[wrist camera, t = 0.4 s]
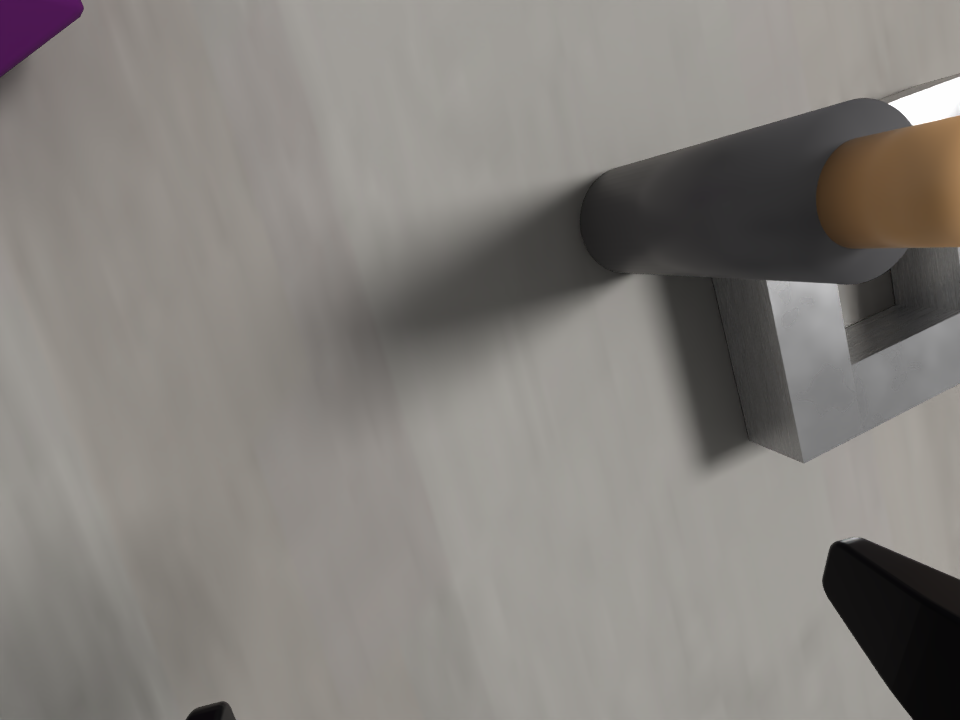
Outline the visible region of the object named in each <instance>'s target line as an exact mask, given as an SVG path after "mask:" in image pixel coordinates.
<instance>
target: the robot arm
mask: <svg viewBox="0 0 960 720" xmlns="http://www.w3.org/2000/svg"><path fill="white" fill-rule="evenodd" d="M822 583H823V588H824V591H825V593H826V595H827V597H828V599H829V600H830V602H831V603H832V605H833V606H834V608H835V609H836V611H837V612H838V614H839V615H840V617H841V618H842V620H843V621H844V623H845V624H846V626H847V627H848V629H849V630H850V632H851V633H852V635H853V636H854V638H855V639H856V641H857V642H858V644H859V645H860V647H861V648H862V650H863V651H864V652H865V654H866V655H867V657H868V658H869V660H870V661H871V663H872V664H873V666H874V667H875V669H876V670H877V672H878V673H879V675H880V676H881V678H882V679H883V681H884V682H885V683H886V685H887V686H888V688H889V689H890V691H891V692H892V693H893V694H894V696H895V697H896V698H897V700H898V701H899V702H900V704H901V705H902V706H903V708H904V709H905V710H906V711H907V713H908V714H909V715H910V716H911V718H912V719H913V720H960V580H959V579H957V578H955V577H952V576H950V575H948V574H945V573H943V572H941V571H938V570H936V569H934V568H931V567H929V566H927V565H924V564H922V563H920V562H917V561H915V560H913V559H910V558H908V557H906V556H903V555H901V554H899V553H896V552H894V551H892V550H889V549H887V548H885V547H882V546H880V545H878V544H875V543H873V542H871V541H868V540H866V539H863V538H860V537H852V538H848V539H844V540H840V541H837V542H834V543H833V544H832V545H831V546H830V549H829V553H828V557H827V561H826V565H825V570H824V574H823V578H822ZM186 720H236V719H235V717H234V714H233V712H232V709H231V707H230V706H229V704H228V703H227V702H224V701H222V702H217V703H213V704H210V705H206V706H202V707H199V708H196V709H195V710H193V711H192V712H191V713H190V714H189V715H188V717H187V718H186Z"/></svg>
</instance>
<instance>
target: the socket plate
mask: <svg viewBox="0 0 960 720" xmlns="http://www.w3.org/2000/svg"><path fill="white" fill-rule="evenodd" d="M879 100H880V101H884V102H886V103H888V104H890V105H892V106H893V107H895V108H896V109H898V110H899V111H900V112H901V113H902V114H904V115H905V116H906V117H907V119H908V120H909V121H910V122H911V124H912V125H918V124H923V123H927V122H932V121H936V120H941V119H946V118H950V117H955V116H959V115H960V73H959V74H956V75H952V76H948V77H945V78H941V79H938V80H934V81H931V82H927V83H924V84H920V85H917V86H915V87H912V88H909V89H906V90H904V91H901V92H898V93H896V94H893V95H890V96H887V97H885V98H882V99H879ZM890 269H891V276H892V283H893V290H894V296H895V303H896V305H895V306H892V307H890V308H888V309H886V310H884V311H882V312H879V313H877V314H875V315H873V316H871V317H869V318H867V319H864V320H862V321H860V322H858V323H856V324H854V325H851V326H849V327H847V328H845V326H844V320H843V315H842V309H841V303H840V297H839V291H838V286H837V284H829V283H809V282H790V281H770V280H750V279H731V278H712V280H713V284H714V289H715V293H716V297H717V302H718V306H719V310H720V315H721V319H722V323H723V328H724V332H725V336H726V341H727V345H728V349H729V354H730V358H731V362H732V367H733V371H734V376H735V380H736V384H737V389H738V393H739V397H740V402H741V406H742V410H743V415H744V419H745V423H746V428H747V432H748V436H749V441H751V442H754V443H756V444H759V445H761V446H763V447H766V448H768V449H771V450H773V451H775V452H778V453H780V454H783V455H785V456H787V457H790V458H792V459H795V460H797V461H799V462H802V463H806V462H808V461H810V460H811V459H813V458H815V457H817V456H819V455H821V454H823V453H825V452H827V451H829V450H831V449H833V448H835V447H837V446H839V445H841V444H843V443H845V442H847V441H848V440H850V439H852V438H854V437H856V436H858V435H860V434H862V433H864V432H866V431H868V430H870V429H872V428H874V427H876V426H878V425H880V424H882V423H884V422H886V421H887V420H889V419H891V418H893V417H895V416H897V415H899V414H901V413H903V412H905V411H907V410H909V409H911V408H913V407H915V406H917V405H919V404H921V403H923V402H924V401H926V400H928V399H930V398H932V397H934V396H936V395H938V394H940V393H942V392H944V391H946V390H948V389H950V388H952V387H954V386H956V385H958V384H960V247H933V248H908V249H907V250H906V252H905V253H904V255H903V256H902V257H901V258H900V259H899V260H898V262H896V263H895V264H894V265H893V266H892V267H891V268H890Z"/></svg>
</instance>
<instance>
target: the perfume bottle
mask: <svg viewBox="0 0 960 720" xmlns="http://www.w3.org/2000/svg"><path fill="white" fill-rule="evenodd" d="M83 10H84V7H83V5H82V2H81V0H0V77H1V76H3V75H4V74H5V73H7V72H8V71H9V70H10V69H12V68H13V67H14V66H16V65H17V64H18V63H20V62H21V61H22V60H24V59H25V58H26V57H28V56H29V55H30V54H32V53H33V52H34V51H36V50H37V49H38V48H40V47H41V46H42V45H43V44H45V43H46V42H47V41H49V40H50V39H51V38H53V37H54V36H55V35H57V34H58V33H59V32H61V31H62V30H63V29H65V28H66V27H67V26H69V25H70V24H71V23H72V22H74V21H75V20H76V19H78V18H79V17H80V16H81V14H82V12H83Z"/></svg>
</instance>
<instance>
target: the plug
mask: <svg viewBox="0 0 960 720" xmlns="http://www.w3.org/2000/svg"><path fill="white" fill-rule="evenodd" d="M580 228H581V234H582V238H583V241H584V244H585V246H586V248H587V250H588V252H589V253H590V255H591V256H592V257H593V258H594V259H595V260H596V261H597V262H598V263H599V264H600V265H602V266H603V267H605V268H607V269H609V270H611V271H614V272H619V273H633V274H653V275H672V276H692V277H711V278H731V279H750V280H770V281H790V282H809V283H829V284H858V283H863V282H866V281H869V280H872V279H874V278H876V277H878V276H880V275H882V274H883V273H884V272H886V271H887V270H889V269H890V268H891V267H892V266H893V265H894V264H895V263H896V262H898V260H899V259H900V258H901V257H902V256H903V255H904V253H905V252H906V250H907V249H908V248H933V247H960V115H959V116H955V117H950V118H946V119H941V120H936V121H932V122H927V123H923V124H918V125H912V124H911V122H910V121H909V120H908V119H907V117H906V116H905V115H904V114H902V113H901V112H900V111H899V110H898V109H896V108H895V107H893V106H892V105H890V104H888V103H886V102H884V101H880V100H876V99H870V98H860V99H853V100H850V101H846V102H842V103H839V104H835V105H832V106H829V107H825V108H822V109H818V110H815V111H811V112H808V113H804V114H801V115H797V116H794V117H791V118H787V119H784V120H780V121H777V122H773V123H770V124H766V125H763V126H759V127H756V128H752V129H749V130H746V131H742V132H739V133H735V134H732V135H728V136H725V137H721V138H718V139H714V140H711V141H708V142H704V143H701V144H697V145H694V146H690V147H687V148H683V149H680V150H676V151H673V152H669V153H666V154H663V155H659V156H656V157H652V158H649V159H645V160H642V161H638V162H635V163H631V164H628V165H625V166H621V167H618V168H614V169H612V170H610V171H608V172H606V173H604V174H603V175H602V176H600V177H599V178H598V179H597V180H596V181H595V182H594V183H593V184H592V186H591V187H590V189H589V190H588V192H587V194H586V196H585V199H584V201H583V204H582V208H581V214H580Z"/></svg>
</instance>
